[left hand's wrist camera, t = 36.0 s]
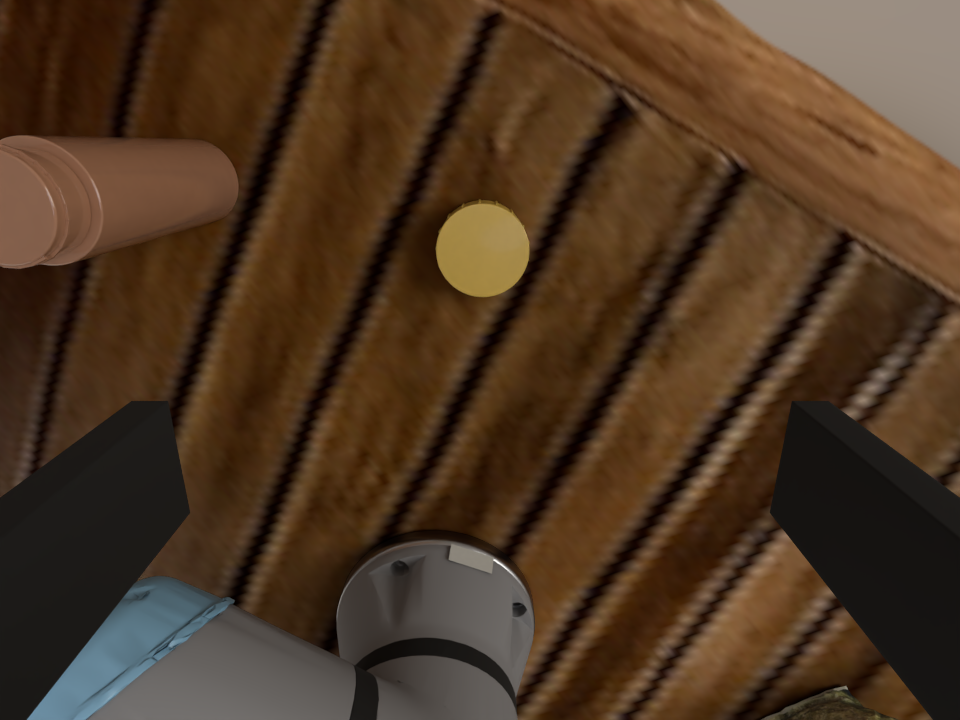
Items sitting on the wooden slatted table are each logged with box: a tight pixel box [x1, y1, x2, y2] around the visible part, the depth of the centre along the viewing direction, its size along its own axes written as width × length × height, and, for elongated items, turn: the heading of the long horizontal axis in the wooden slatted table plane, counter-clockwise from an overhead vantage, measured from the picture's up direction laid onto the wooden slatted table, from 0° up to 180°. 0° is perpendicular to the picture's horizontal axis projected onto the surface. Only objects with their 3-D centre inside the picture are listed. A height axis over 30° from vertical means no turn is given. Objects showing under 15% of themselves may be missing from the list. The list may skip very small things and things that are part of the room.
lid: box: [435, 199, 530, 297], centre depth 36 cm, size 6×6×2 cm
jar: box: [0, 135, 239, 269], centre depth 28 cm, size 5×5×16 cm
